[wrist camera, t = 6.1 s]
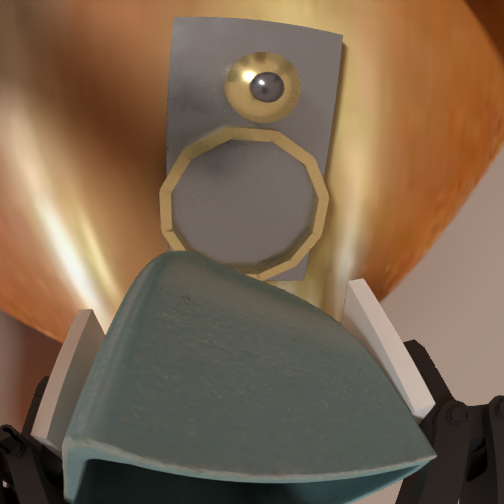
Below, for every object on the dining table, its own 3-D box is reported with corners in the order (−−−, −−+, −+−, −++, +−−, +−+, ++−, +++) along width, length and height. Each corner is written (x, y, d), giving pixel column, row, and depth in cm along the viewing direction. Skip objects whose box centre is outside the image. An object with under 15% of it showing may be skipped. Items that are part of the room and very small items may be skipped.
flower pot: (351, 275, 13) (447, 457, 5) (251, 385, 17) (271, 530, 9) (162, 182, 10) (59, 438, 2) (102, 337, 14) (63, 503, 6)
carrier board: (168, 272, 32) (158, 324, 25) (169, 20, 19) (151, -4, 12) (305, 273, 34) (325, 322, 27) (342, 38, 21) (386, 27, 14)
